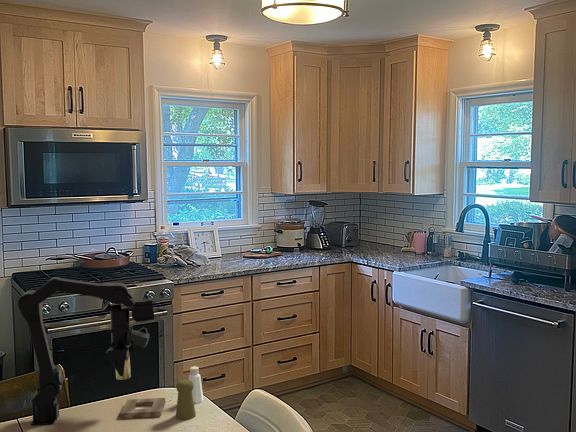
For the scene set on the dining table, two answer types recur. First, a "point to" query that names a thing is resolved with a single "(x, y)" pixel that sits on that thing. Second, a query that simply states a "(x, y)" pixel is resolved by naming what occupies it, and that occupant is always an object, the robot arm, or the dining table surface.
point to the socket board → (143, 408)
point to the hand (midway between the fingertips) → (123, 373)
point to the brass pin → (125, 371)
